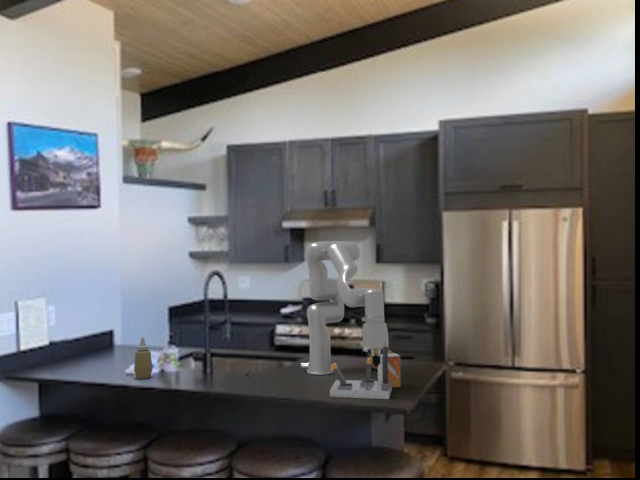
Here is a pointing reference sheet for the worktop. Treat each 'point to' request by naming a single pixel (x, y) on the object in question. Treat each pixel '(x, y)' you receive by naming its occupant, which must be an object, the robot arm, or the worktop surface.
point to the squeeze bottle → (143, 361)
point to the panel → (360, 389)
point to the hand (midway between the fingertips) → (376, 365)
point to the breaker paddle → (368, 369)
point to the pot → (376, 355)
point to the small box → (391, 369)
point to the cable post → (385, 370)
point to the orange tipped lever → (338, 374)
